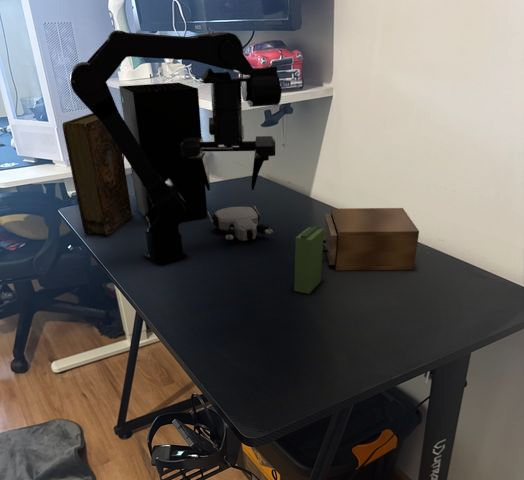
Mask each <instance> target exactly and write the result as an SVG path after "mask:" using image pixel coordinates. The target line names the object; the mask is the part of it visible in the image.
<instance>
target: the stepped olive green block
mask: <svg viewBox="0 0 524 480" xmlns="http://www.w3.org/2000/svg"><path fill="white" fill-rule="evenodd" d="M319 227H320V226H319V225H312V226H308V227H307V228H306V229H304V230H303V231H302V232H301V233H299V234H298V235H297V236H296V237H295V245H294V247H295V248H294V249H295V251H294V286H293V287H294V289H293V291H294V292H297V293H303V294H308V295H309V294H310V293H312V292H313V290H315V288H317V286H318V285H319V284H320V283H321V282H322V269H323V268H322V267H323V252H322V251H323V247H324V246H323V245H324V243H323V240H324V228H319Z"/></svg>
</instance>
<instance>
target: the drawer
mask: <svg viewBox="0 0 524 480" xmlns="http://www.w3.org/2000/svg"><path fill="white" fill-rule="evenodd" d="M323 224H324V226H323V229H324V233H323V245H324V248H323V251H322V253H325V254H326V258H327V262H328V265H329V266H335V260H336V246H337V243H338V232H337V229H336V230H335V227H334V224H333V220H332V217H331V213H324V223H323Z"/></svg>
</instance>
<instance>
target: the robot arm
mask: <svg viewBox="0 0 524 480" xmlns="http://www.w3.org/2000/svg"><path fill="white" fill-rule="evenodd" d="M126 58H149V59H162V60H180V61H181V60H183V61H192V62H195V63H201V64H203V65H204V64H205V65H208V66H212V67H216V68H220V69H223V70H230V71H231V72H232V73H235V74H240V75H242V76H239V77H237V76H236V77H232V76H231V75H232V74H231V73H230V72H229V71H218V72H217V71H215V72H214V71H213V69H212V68H210V67H207V68H206V69H205V72H204V73H203V74H202V75H201V76H200V77H199V82H200V83H203V84H207V85H208V84H210V95H211V113H212V117H208V132H209V135H210V136H213V141H204V139H203V136H202V137H186V138H185V139H184V140H183V142H182V143H181V157H189V158H188V161H192V162H194V164H195V166H196V167H197V169H198V171H199V172H200V174H201V176H202V179H203V181H204V183H205V189H207V191H211V181H210V175H209V170H208V163H207V155H206V152H210V153H211V152H212V153H213V152H254V156H253V166H252V175H251V191H254V190H255V187H256V183H257V179H258V176H259V173H260V170H261V168H262V166H263V164H264V162H268V161H269V160H270V157H274V156H276V138H275V137H274V136H273V135H263V136H262V135H256V136H255V140H244V139H245V134H244V133H245V132H244V124H243V107H242V105H243V104H242V101H243V102H247V104H248V106H249V107H250V108H256V107H270V106H271V107H272V106H278V105H280V103H281V100H282V86H281V81H280V76H279V74H278V67H277V66H274V65H268V66H264V67H253V66H252V64H251V63H250V62H249V60H248V58H247V56H245V54H244V47H243V43H242V41H241V40H240V38H239V37H238V36H237V34H235V33H232V32H225V31H217V32H216V31H215V32H209V33H208V32H207V33H202V34H196V35H191V36H182V35H180V36H179V35H170V34H169V35H168V34H153V33H141V32H140V33H137V32H126V31H124V30H120V29H117V30H113V31H112V32H110V34H109V35H108V37H107V39H106V40H105V41H104V42H103V43H102V44H101V45H100V46H99V47H98V49H97V50H96V51H95V52H94V53H93V54H92V55H91V57H90V58H89V59H88V60H87V61H81V62H79V63H76V64H75V65H74V66H73V67H72V69H71V71H70V75H69V81H70V87H71V89H72V91H73V93H74V94H75V95H76V96H77V98H78V99H79V100H80V101H81V102H82V104H83V105H85V107H86V108H87V109H88V110H89V111H90V112H91V113H93V114H94V115H95V116H96V117H97V118H98V119H99V120H100V121H101V122H102V123H103V124H104V126H105V127H106V129H107V131H108V132H109V134H110V135H111V137H112V138H113V140H114V141H115V143H116V144H117V146H118V147H119V149H120V150H121V152H122V153H123V157H124V158H125V159H126V161H127V162H128V164H129V165H130V168H131V167H132V168H133V170H134V171H135V173H136V175H137V176H138V178H139V179H140V181H141V182H142V184H143V185H144V187H145V189H146V191H147V194H148V196H149V198H150V201H151V203H152V205H153V206H152V207H151V208H150V210H149V211H148V212H147V213H146V215H145V216H143V217H144V219H145V222H146V225H147V226H148V229H147V230H145V231H144V232H145V238H146V244H147V253H145V254H144V257H145V258H146V259H149V260H150V261H152V262H154V263H156V264H157V265H160V266H162V265H166V264H169V263H172V262H175V261H178V260H181V259H184V258H186V254H185V253H183V242H182V234H181V233H180V229H179V226H180V224H182V222H184V221H183V220H184V218H185V214H186V209H185V207H184V205H183V203H186V201H185V200H184V199H183V197H182V196H181V194H180V193H179V192H178V191H177V188H176V186H175V184H174V183H173V181H172V180H171V178H169V179H168V180H167V181H164V180H163V179H162V178H161V177H160V176H159V175H158V174H157V172H156V170H155V169H154V167H153V166H152V164H151V163H150V161H149V159H148V158H147V156H146V155H145V153H144V151H143V150H142V148H141V147H140V145H139V143H138V142H137V140H136V139H135V137H134V136H133V134H132V132H131V131H130V129H129V128H128V126H127V124H126V123H125V121H124V117H122V115H121V113H120V111H119V109H118V107H117V105H116V102H115V99H114V97H113V95H112V93H111V90H110V88H109V85H108V80H109V79H110V78H111V77H112V76H113V75H114V74H115V72H116V71H117V70H118V68H119V67H120V66H121V65H122V63H123V62H124V61H125V59H126Z"/></svg>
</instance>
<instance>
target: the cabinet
mask: <svg viewBox="0 0 524 480" xmlns="http://www.w3.org/2000/svg"><path fill="white" fill-rule="evenodd" d="M330 214H331V217H332V220H333V224H334V227H335V230H336V229H337V232H338V243H337V246H336V260H335V265H334V268H335V271H413V270H414V266H415V260H416V254H417V248H418V243H419V242H418V241H419V235H420V230H419V229H418V227H417V226H416V225H415V223H414V222H413V220H412V219H411V218H410V216H409V215H408V213H407V212H406V210H405V208H404V207H361V208H360V207H359V208H358V207H355V208H354V207H353V208H351V207H350V208H348V207H347V208H331V209H330Z"/></svg>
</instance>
